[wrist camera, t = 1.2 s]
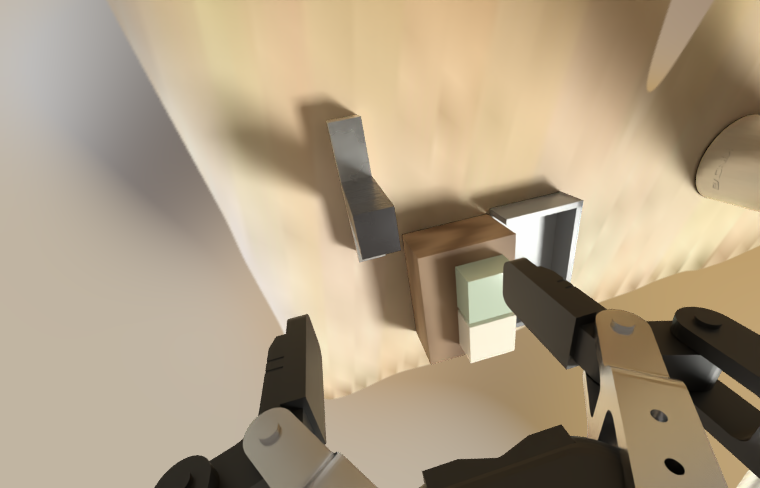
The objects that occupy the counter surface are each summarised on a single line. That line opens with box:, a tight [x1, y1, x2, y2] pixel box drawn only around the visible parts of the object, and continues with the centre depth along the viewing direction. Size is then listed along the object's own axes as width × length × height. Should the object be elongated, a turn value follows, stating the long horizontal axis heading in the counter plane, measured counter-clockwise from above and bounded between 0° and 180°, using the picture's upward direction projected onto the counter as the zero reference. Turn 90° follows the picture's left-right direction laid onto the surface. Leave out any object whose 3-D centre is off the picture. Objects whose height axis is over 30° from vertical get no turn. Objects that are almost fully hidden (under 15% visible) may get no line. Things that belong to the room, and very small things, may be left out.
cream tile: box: [458, 310, 516, 363], centre depth 29 cm, size 4×4×2 cm
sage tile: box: [455, 254, 512, 324], centre depth 27 cm, size 4×4×2 cm
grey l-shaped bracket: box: [326, 115, 401, 262], centre depth 23 cm, size 2×12×10 cm, turn 10°
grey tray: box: [490, 192, 583, 327], centre depth 33 cm, size 8×14×3 cm, turn 10°
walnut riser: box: [402, 214, 516, 365], centre depth 31 cm, size 9×13×5 cm
